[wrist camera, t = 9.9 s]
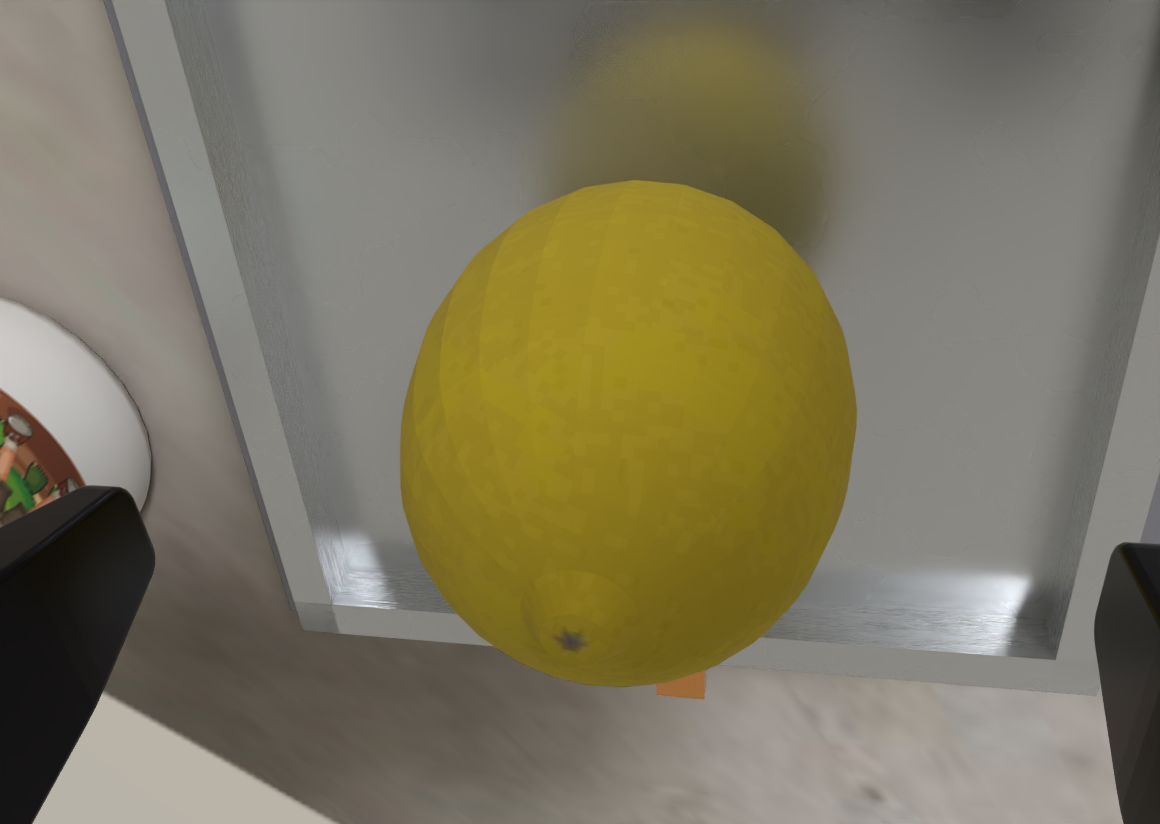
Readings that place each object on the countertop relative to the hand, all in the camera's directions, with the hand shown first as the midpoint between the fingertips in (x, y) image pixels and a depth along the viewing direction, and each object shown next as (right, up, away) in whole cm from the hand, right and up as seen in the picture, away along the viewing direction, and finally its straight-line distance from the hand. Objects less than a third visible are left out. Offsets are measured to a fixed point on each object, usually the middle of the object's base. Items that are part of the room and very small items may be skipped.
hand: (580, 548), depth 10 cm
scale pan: (+2, +4, +10) cm, 11 cm away
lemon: (+1, +3, +7) cm, 8 cm away
